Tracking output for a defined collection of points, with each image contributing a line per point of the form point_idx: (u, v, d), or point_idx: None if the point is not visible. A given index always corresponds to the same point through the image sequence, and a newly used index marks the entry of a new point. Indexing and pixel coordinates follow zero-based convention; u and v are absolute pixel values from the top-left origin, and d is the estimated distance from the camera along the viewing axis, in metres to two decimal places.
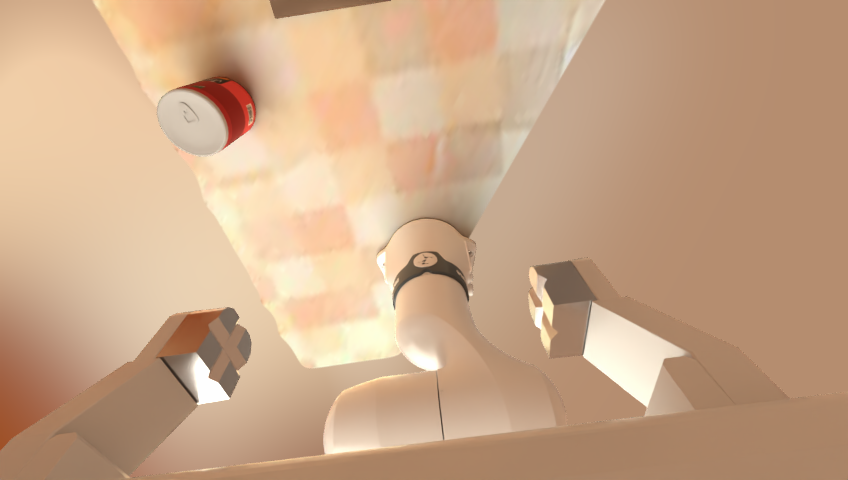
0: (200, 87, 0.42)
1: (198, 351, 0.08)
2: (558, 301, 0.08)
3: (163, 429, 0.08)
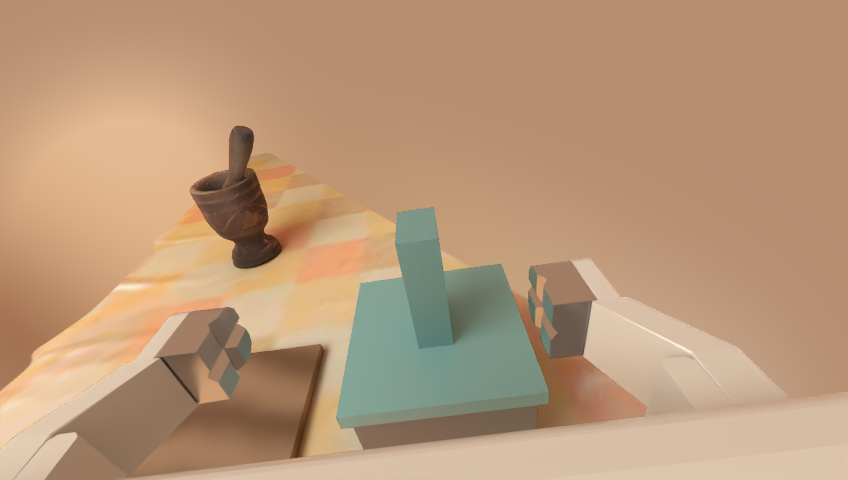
0: None
1: (198, 351, 0.08)
2: (558, 301, 0.08)
3: (163, 429, 0.08)
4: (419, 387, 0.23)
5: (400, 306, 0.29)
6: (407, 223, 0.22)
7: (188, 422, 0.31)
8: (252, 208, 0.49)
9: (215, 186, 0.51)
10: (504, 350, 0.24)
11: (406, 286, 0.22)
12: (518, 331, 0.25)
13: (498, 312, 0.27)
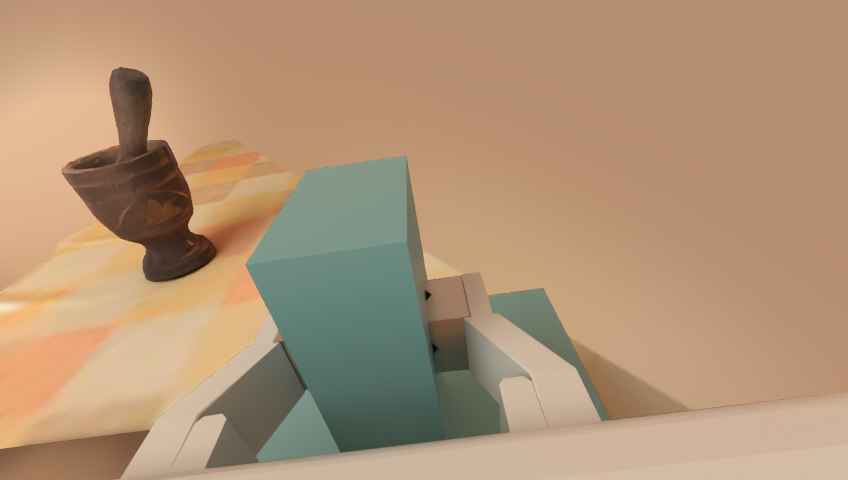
0: None
1: None
2: (433, 317, 0.08)
3: (279, 415, 0.08)
4: None
5: None
6: (321, 196, 0.07)
7: None
8: (159, 196, 0.34)
9: None
10: None
11: (314, 391, 0.07)
12: None
13: None
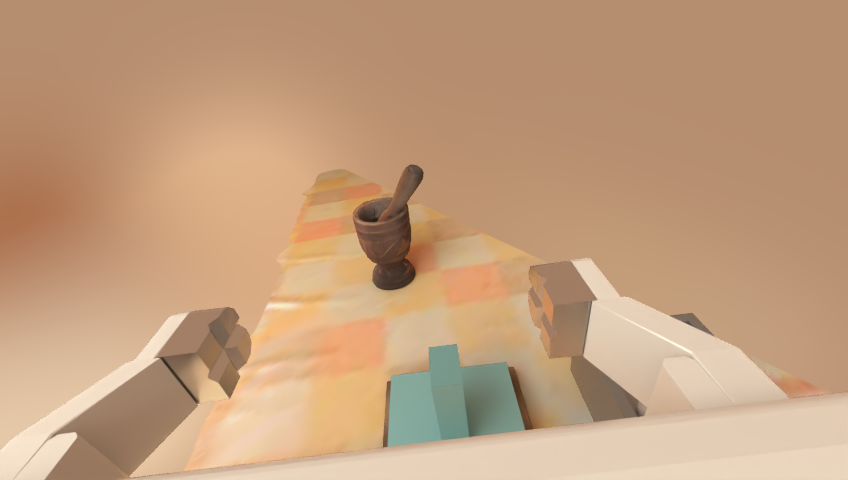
0: None
1: (198, 351, 0.08)
2: (558, 301, 0.08)
3: (163, 429, 0.08)
4: None
5: (425, 403, 0.36)
6: (438, 363, 0.30)
7: None
8: (406, 236, 0.54)
9: (367, 215, 0.56)
10: None
11: (437, 411, 0.29)
12: None
13: (504, 414, 0.34)
